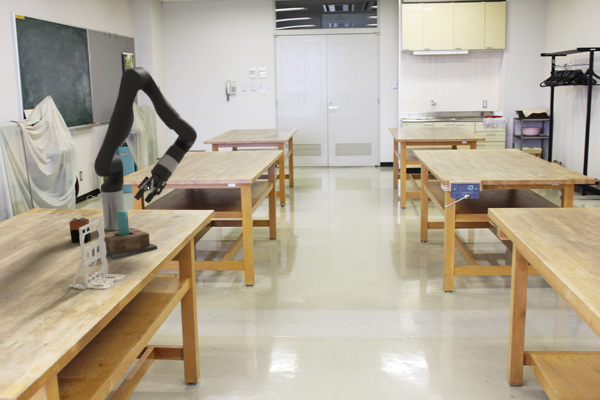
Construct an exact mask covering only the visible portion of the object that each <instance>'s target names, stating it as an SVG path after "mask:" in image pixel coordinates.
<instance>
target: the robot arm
mask: <svg viewBox="0 0 600 400" xmlns="http://www.w3.org/2000/svg"><path fill="white" fill-rule="evenodd" d="M139 91H142V92H143V93H144V94H145V95H146V96H147V97H148V98H149V100H150V101H151V103H152V106H153V107H154V111H155V113H156V115H157V116H158V117H159V119H160V120H161V121H162V122H163V123H164V124H165V125H166V127H167V128H168V129H170V130H173V132H175V133H176V134H177V138H176V139H175V141H174V142H173V143H172V145H170V146H169V147H168V148H167V150H166V151H165V152H164V154H163V155H162V156H161V157H160V158H159V159H158V161H157V162H156V164H155V165H154V166H153V167H152V169H151V170H150V174H151V176H150V177H148V176H145V177H144V178H143V180H142V181H141V182H140V183H139V185H138V186H137V189H138V191H137V192H136V194H135V195H134V199H135V200H136V201H140V199H141V198H142V197H143V195H144V194H145V193H146V192H147V191H148V192H149V191H150V192H149V193H148V194H147V196H146V197H145V199H144V201H145V202H146V203H147V204H150V203H151V202H152V201H153V199H154V198H155V197H156V196H160V195H161V194H162V192H163V190H164V189H165V187H166V186H167V182H168V181H169V179H170V178H171V177H172V175H173V174H174V173H175V171H176V169H177V168H178V166H179V164H180V163H181V162H182V161H183V159H184V157H185V155H186V154H187V153H188V152H189V151H190V149H191V148H192V147H193V146H194V144H195V142H196V140H197V139H198V133H197V131H196V130H195V128H194V127H193V126H192V125H191V124H190V123H189V122H188V121H187V120H186V119H184V118H183V117H182V116H181V115H180V113H179V112H178V111H177V110H176V109H175V108H174V107H173V106H172V104H171V103H170V101H169V100H168V99H167V98H166V97H165V95H164V93H163V92H162V91H161V89H160V88H159V86H158V85H157V83H156V81H155V80H154V78H153V77H152V75H151V73H150V72H149V71H148V70H147V69H146V68H145V67H143V66H137V67H130V68H127V69H126V70H124V72H123V73H122V75H121V79H120V83H119V89H118V94H117V97H116V102H115V104H114V107H113V111H112V114H111V116H110V118H109V119H110V120H109V122H108V127H107V129H106V133H105V135H104V139H103V142H102V144H101V146H100V149H99V151H98V153H97V155H96V157H95V160H94V165H93V168H94V172H95V174H96V175H97V176H98V177H101V178H106V177H107V178H106V180H105V181H104V182H103V183H102V184H101V185H100V193H101V196H100V197H101V205H102V206H101V207H102V215H103V225H104V231H118V222H117V211H122V210H125V201H124V191H123V190H124V188H123V187H124V183H125V182H124V181H125V180H124V165H123V164H124V163H123V161H122V158H121V156H119V155H118V154H116V152H117V151H118V149H119V148H120V147H121V145H122V144H123V143H124V142H125V141H126V140H127V138H128V137H129V136H130V133H131V130H132V127H133V125H134V121H135V113H134V103H135V99H136V96H137V94H138V92H139Z"/></svg>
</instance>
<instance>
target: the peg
mask: <svg viewBox="0 0 600 400" xmlns="http://www.w3.org/2000/svg"><path fill="white" fill-rule="evenodd" d="M117 222H118V230H117V231H118V232H119V237H122V236H127V235H129V228H130V227H129V215H128V210H126V209H124V210H122V211H117Z"/></svg>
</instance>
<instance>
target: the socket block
mask: <svg viewBox="0 0 600 400" xmlns="http://www.w3.org/2000/svg"><path fill="white" fill-rule="evenodd" d="M104 233H105V238H104V242H105V243H106V253H107V254H106V257H108V258H110V259H112V260H117V259H120V258H125V257H130V256H132V255H137V254H141V253H145V252H150V251H155V250H158V245H155V244H153V243H151V242H150V241H151V240H150V233H149V232H146V231H142V230H139V229H136V228H133V227H129V235H127V236H122V237H119V232H118V230H113V231H109V232H104ZM99 247H100V246H98V247H97V253H98V252H99ZM92 250H93V251H94V249H92Z"/></svg>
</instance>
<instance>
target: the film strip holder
mask: <svg viewBox="0 0 600 400" xmlns="http://www.w3.org/2000/svg"><path fill="white" fill-rule="evenodd" d="M96 224H97V226H96ZM92 226H93V227H94V228H92ZM88 227H89V229H90V231H88V232H87V228H88ZM84 229H85V233H84V234H83V232H82V230H84ZM96 230H97V232H98V238H97V239H98V240H97V241H96V242H94V243H92V244H91V245H89V246H86V244H85V243H84V237H85V235H86V234H88V233H90V234H91V233H92V232H95V231H96ZM79 233H80V236H79V237H80V243H79V244H80V251H81V252H80V253H81V256H80V262H79V264H78V268H77V270H76V273H75V276H74V278H73V281H72V283H71V284H70V285H69V288H70V287H74V288H75V289H74V288H73V289H74V290H87V289H86V288H94V289H93V290H107V288H109V289H112V288H113V287H114V286H115V282H119V281H121V280H125V278H126V275H125V274H118V273H108V272H109V265H108V263H109V262H108V259H107V256H106V254H107V253H106V243H105V242H104V238H105V233H106V232H105V227H104V222H103V218H97V219H95V220H94V221H91V222H89V224H87V225H85V226H83V227H80V228H79ZM98 246H100V247H99V252H97V247H98ZM93 249H94V250H93ZM92 250H93V251H94V255H93V253H92ZM87 253H88V259H87ZM98 260H100V261H101V265H100V267H101V268H100V270H99V271H95V267H96V265H97V262H98ZM91 264H93V265H92V268H91V271H90V272H88V269H89V265H91ZM81 267H82V270H83V273H82V274H83V283H84V284H82V283H81V284H79V283H77V284H76V281H77V278H78V275H79V273H80V270H81ZM94 271H95V272H94ZM93 277H94V279H93ZM105 277H106V278H105ZM111 277H112V278H111ZM91 284H92V285H91ZM93 284H94V286H93ZM89 286H91V287H89ZM92 286H93V287H92ZM111 286H112V287H111ZM76 288H78V289H76Z"/></svg>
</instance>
